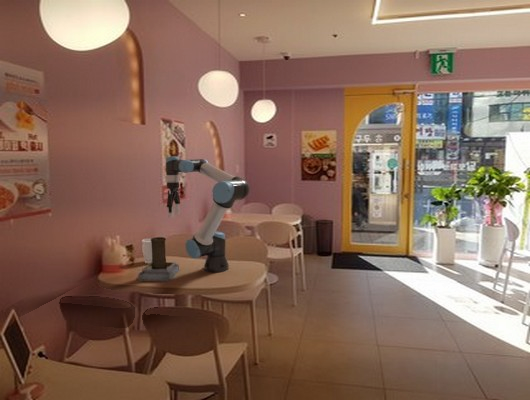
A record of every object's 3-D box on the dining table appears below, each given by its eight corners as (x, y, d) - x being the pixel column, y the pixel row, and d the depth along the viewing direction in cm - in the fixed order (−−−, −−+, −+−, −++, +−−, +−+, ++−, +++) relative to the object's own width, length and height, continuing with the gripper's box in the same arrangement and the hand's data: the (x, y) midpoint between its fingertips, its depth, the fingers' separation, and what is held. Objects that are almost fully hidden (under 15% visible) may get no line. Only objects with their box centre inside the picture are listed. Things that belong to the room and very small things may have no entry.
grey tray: (179, 270, 250) (179, 261, 249) (169, 281, 230) (169, 271, 229) (150, 270, 251) (150, 261, 250) (138, 281, 231) (138, 270, 230)
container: (163, 271, 234) (162, 240, 232) (148, 270, 236) (147, 239, 234) (169, 266, 243) (168, 237, 241) (155, 266, 245) (154, 236, 243)
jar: (150, 265, 263) (149, 242, 261) (139, 262, 268) (138, 240, 266) (162, 261, 271) (161, 239, 270) (152, 258, 277) (151, 237, 275)
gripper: (172, 180, 263) (173, 212, 265) (160, 183, 238) (161, 219, 241) (184, 180, 262) (185, 212, 265) (173, 183, 237) (174, 219, 240)
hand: (174, 216), depth 253 cm, fingers open, 13 cm apart
